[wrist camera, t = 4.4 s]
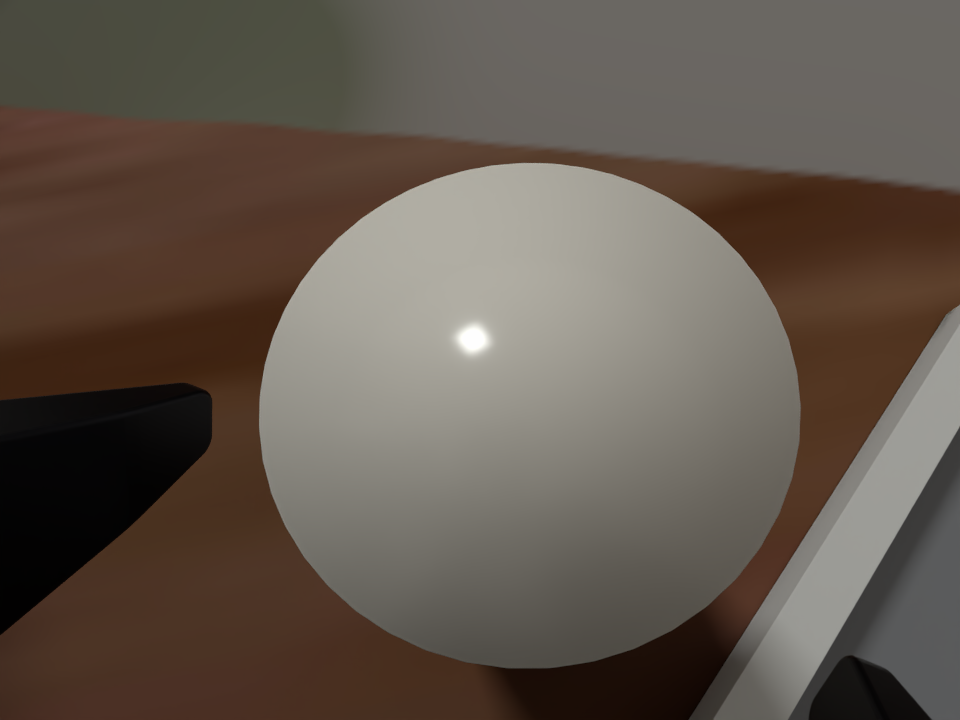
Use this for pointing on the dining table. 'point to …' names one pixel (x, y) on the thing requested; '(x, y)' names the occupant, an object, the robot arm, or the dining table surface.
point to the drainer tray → (869, 566)
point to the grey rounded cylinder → (529, 415)
